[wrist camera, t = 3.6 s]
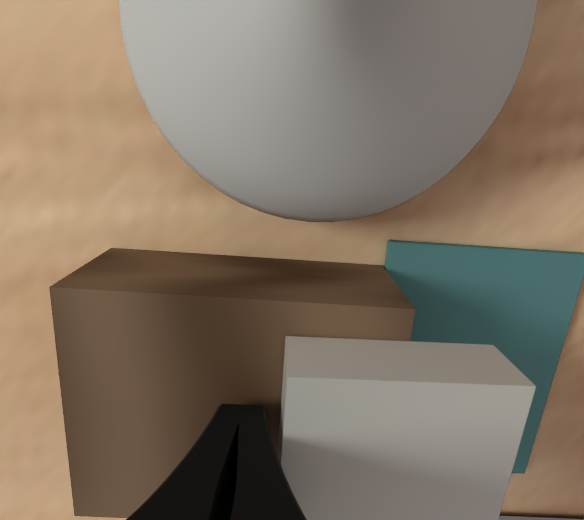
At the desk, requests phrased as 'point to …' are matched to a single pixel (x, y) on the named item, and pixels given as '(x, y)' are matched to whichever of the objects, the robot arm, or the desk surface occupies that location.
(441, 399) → the tile
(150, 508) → the robot arm
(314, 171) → the flower in vase
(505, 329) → the mat
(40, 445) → the desk surface
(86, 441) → the block
